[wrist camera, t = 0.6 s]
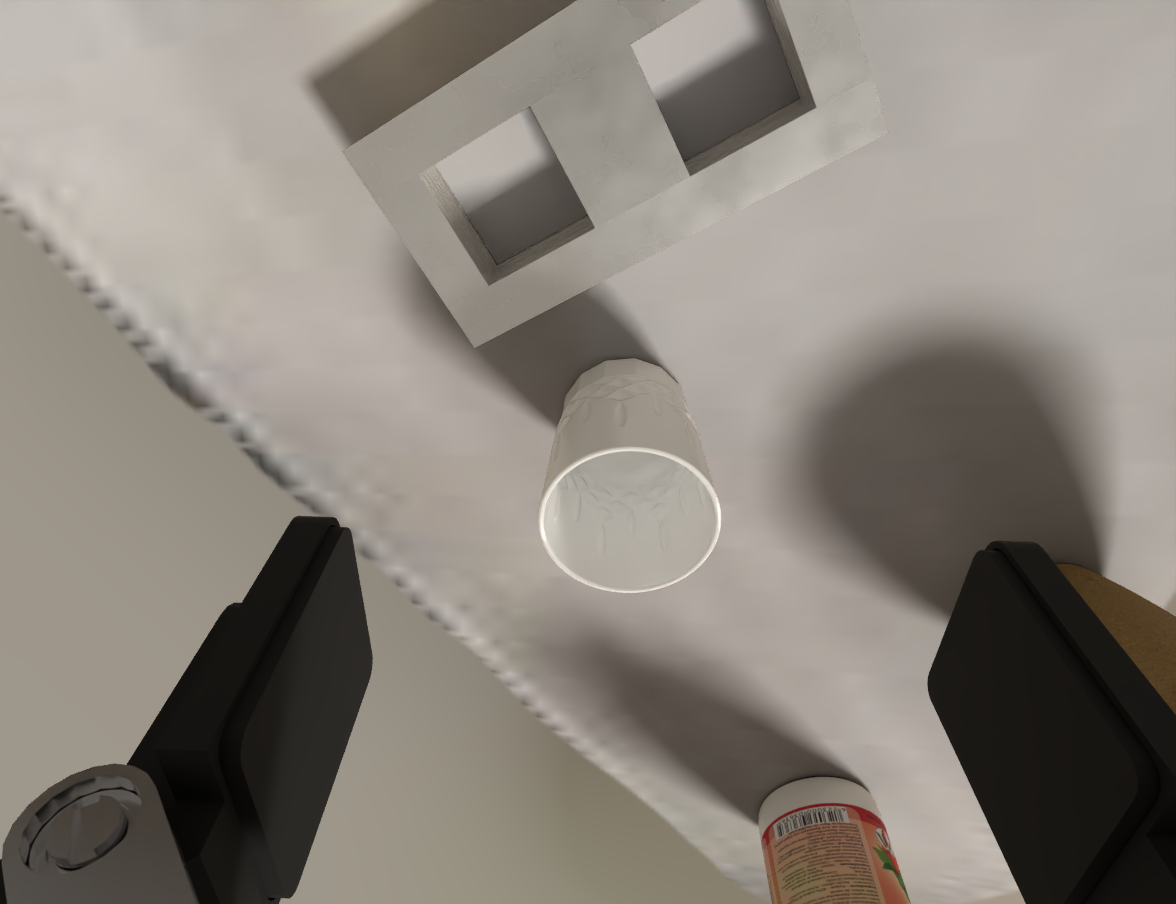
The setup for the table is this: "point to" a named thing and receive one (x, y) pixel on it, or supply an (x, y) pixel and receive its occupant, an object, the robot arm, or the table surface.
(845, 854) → the fruit juice
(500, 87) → the rail
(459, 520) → the table surface
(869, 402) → the table surface
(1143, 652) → the plant pot
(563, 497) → the white cup
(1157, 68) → the table surface
